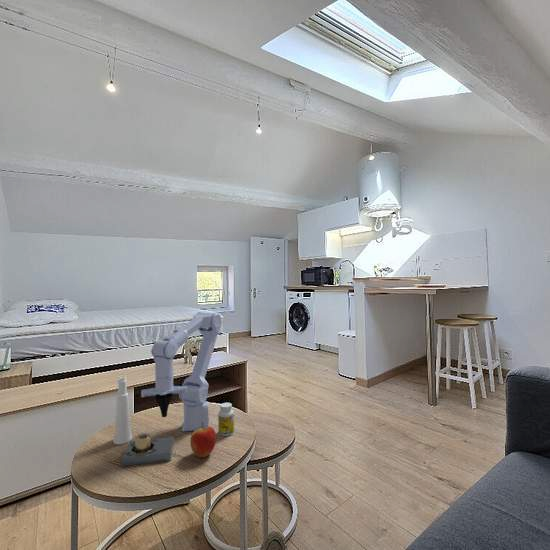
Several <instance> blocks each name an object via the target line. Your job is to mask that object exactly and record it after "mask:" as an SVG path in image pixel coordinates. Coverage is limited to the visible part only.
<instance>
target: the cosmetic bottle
mask: <svg viewBox="0 0 550 550" xmlns="http://www.w3.org/2000/svg"><path fill="white" fill-rule="evenodd" d="M117 381H118V382H117V395H116V404H115V423H114V424H115V426H114V433H113V438H112V439H113V440H112V442H113V444H114V445H124V444H127V443H130V441H132V439H133V434H132V430H131V420H130V416H131V415H130V403H129V392H128V385H127V384H128V381H127V377H126V376H119V378H118V380H117Z"/></svg>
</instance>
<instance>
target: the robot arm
mask: <svg viewBox="0 0 550 550" xmlns="http://www.w3.org/2000/svg"><path fill="white" fill-rule="evenodd" d="M222 323H223V320H222V317H221V314H220V313H218V312H203V311H202V312H201V311H198V312H196V314H194V315H193V318H192V319H190V321H189V322H188V323H186V325H185V326H184V327H182V328H179V327H178V328H175V329H173V331H172V332H171V333H170V334H169V335H167V336H165V337H164V338H163V339H162V340H161V339H159V340H156V342H154V344H153V345H152V348H151V350H150V353H151V355H152V356H153V361H154V363H155V365H154V367H155V370H154V371H155V373H154V374H155V387H152V388H147V389H145V388H144V389H141V393H140V397H141V398H145V397H152V396H153V397H155V399H154V400H155V402H156V403H157V405H158V407H159V409H160V413H161V418H166V417H167V416H168V412H169V411H168V410H169V406H170V403H171V401H172V399H173V395H177V394H178V396H179V399H180V400H181V403H182V404H183V423H182V428H181V431H182V432H190V431H195V430H197V429H201V428H206V427H209V422H210V415H209V401H207V398H208V395H209V393H208V392H209V383H208V381H207V380H206V379H205V378H206V375H207V372H208V369H209V366H210V361H211V358H212V354H213V352H214V348H215V344H216V341H217V338H218V335H219V333H220V329H221V326H222ZM197 330H198V331H199V334H201V335H202V341H201V344H200V346H199V349H198V353H197V356H196V360H195V363H194V366H193V369H192V372H191V375H189V376H188V377H186V378H185V379H184V381H183V383H182V385H181V386H180V385H174V357H175V356H176V355H177V351H178V350H179V348H181V346H183V345H184V344H185V343H186V342H187V341H189V336H191V335H192V334H193V333H194V332H196V331H197ZM202 423H203V425H202Z"/></svg>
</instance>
